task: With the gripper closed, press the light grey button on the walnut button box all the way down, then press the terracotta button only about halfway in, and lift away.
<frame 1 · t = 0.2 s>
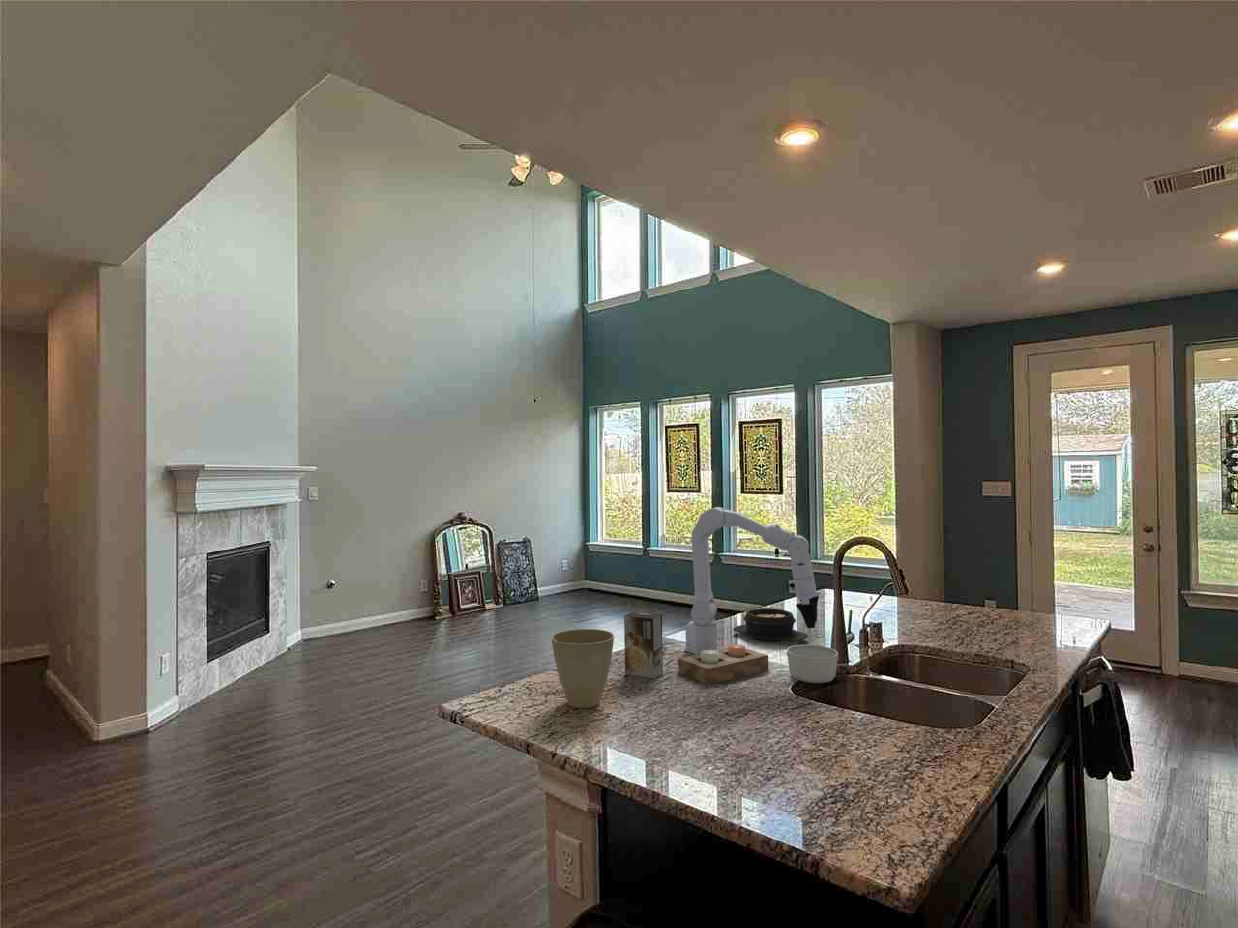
hand: (812, 624, 187), 10 cm above the worktop, tool pointing down, fingers open, 7 cm apart
casserole: (769, 638, 214), on the worktop
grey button: (709, 658, 176), point 4 cm above the worktop, slide at 0.0 cm
ramekin: (812, 677, 173), on the worktop
button box: (723, 671, 178), on the worktop
terracotta button: (736, 652, 181), point 4 cm above the worktop, slide at 0.0 cm
plant pot: (583, 703, 155), on the worktop
coffee box: (643, 674, 177), on the worktop
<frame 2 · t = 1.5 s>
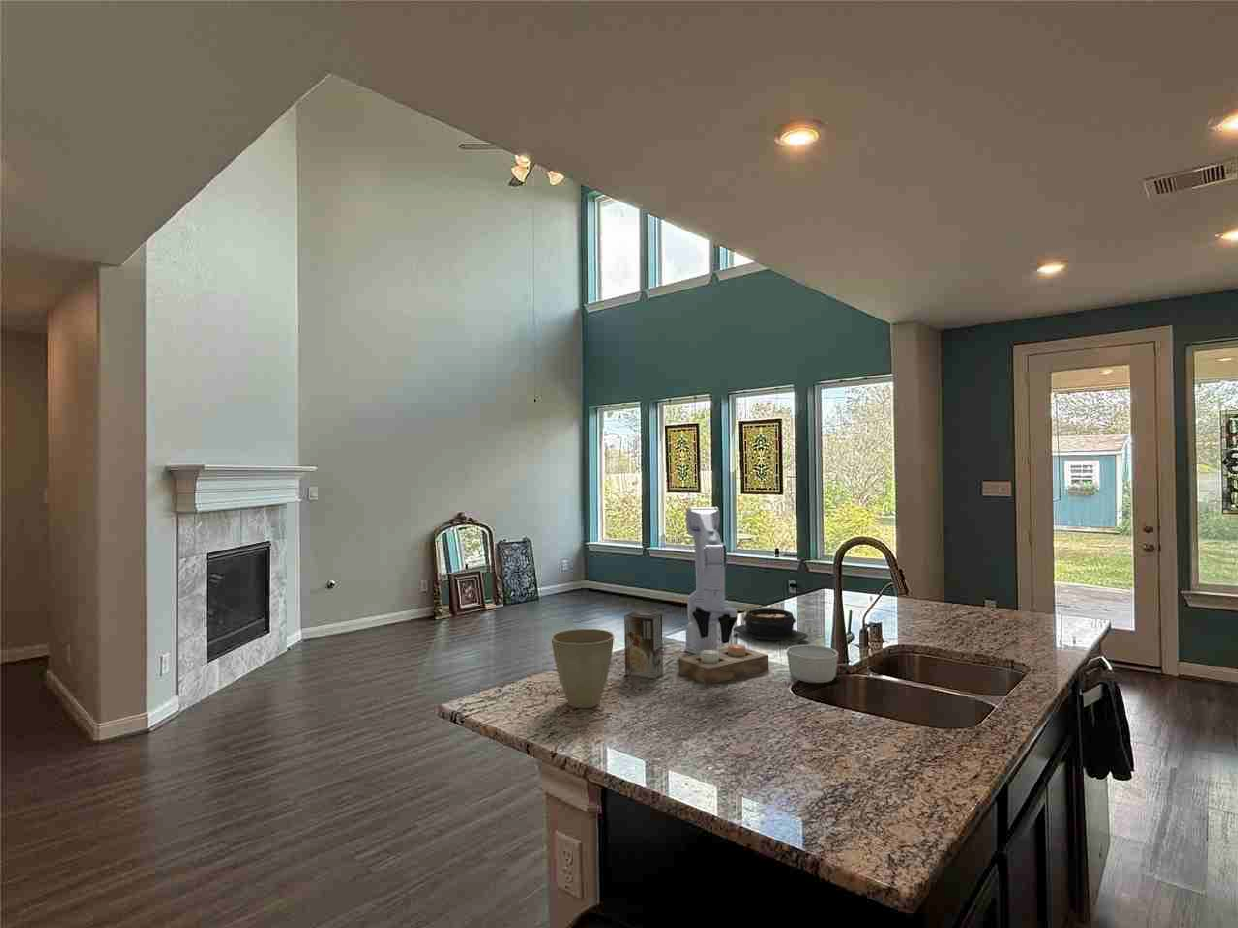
hand: (714, 639, 175), 9 cm above the worktop, tool pointing down, fingers open, 7 cm apart
nothing on the worktop moved.
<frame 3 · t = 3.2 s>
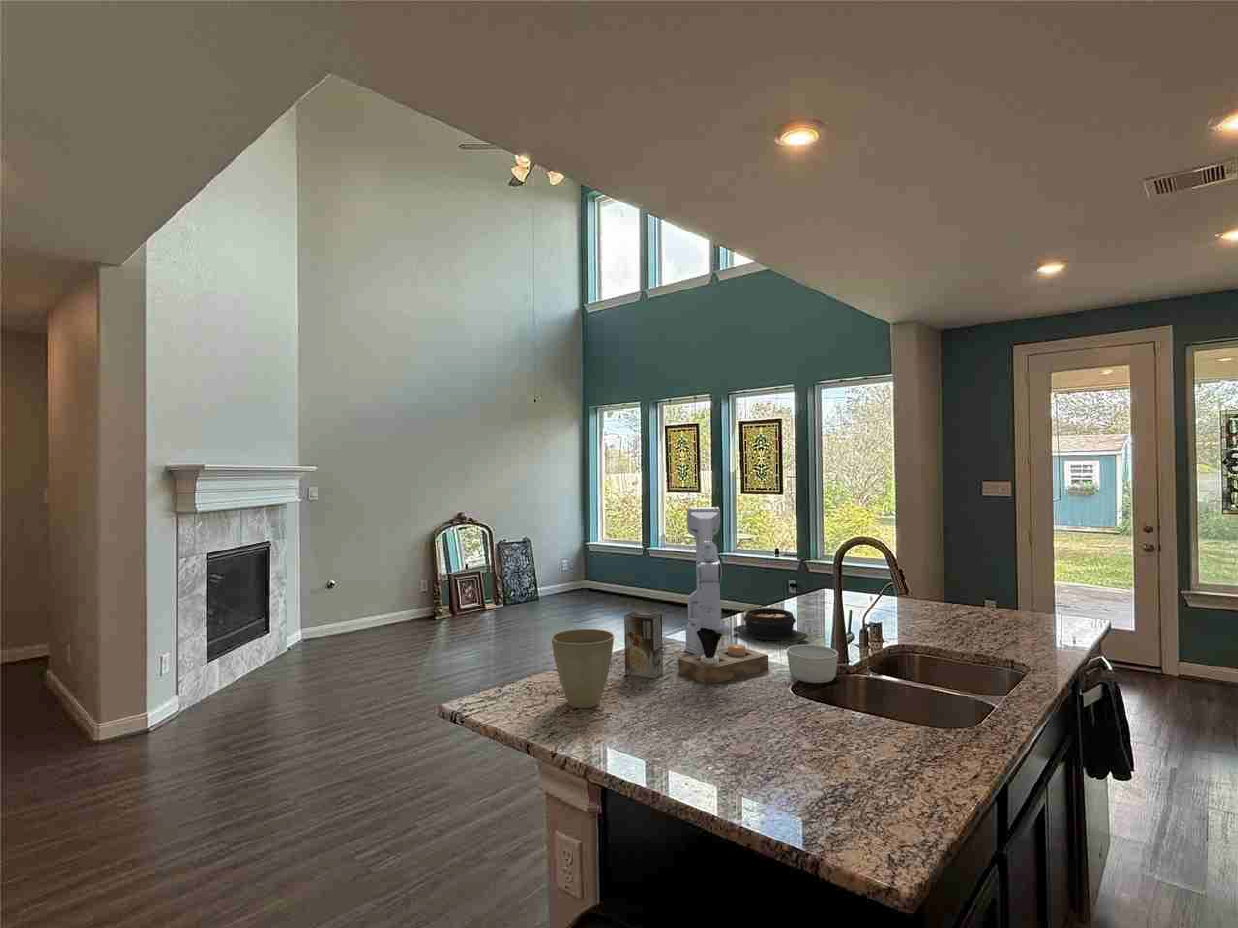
hand: (709, 657, 176), 5 cm above the worktop, tool pointing down, fingers closed, pressing on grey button
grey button: (709, 663, 176), point 3 cm above the worktop, slide at 1.3 cm, touching gripper
everything else where it was.
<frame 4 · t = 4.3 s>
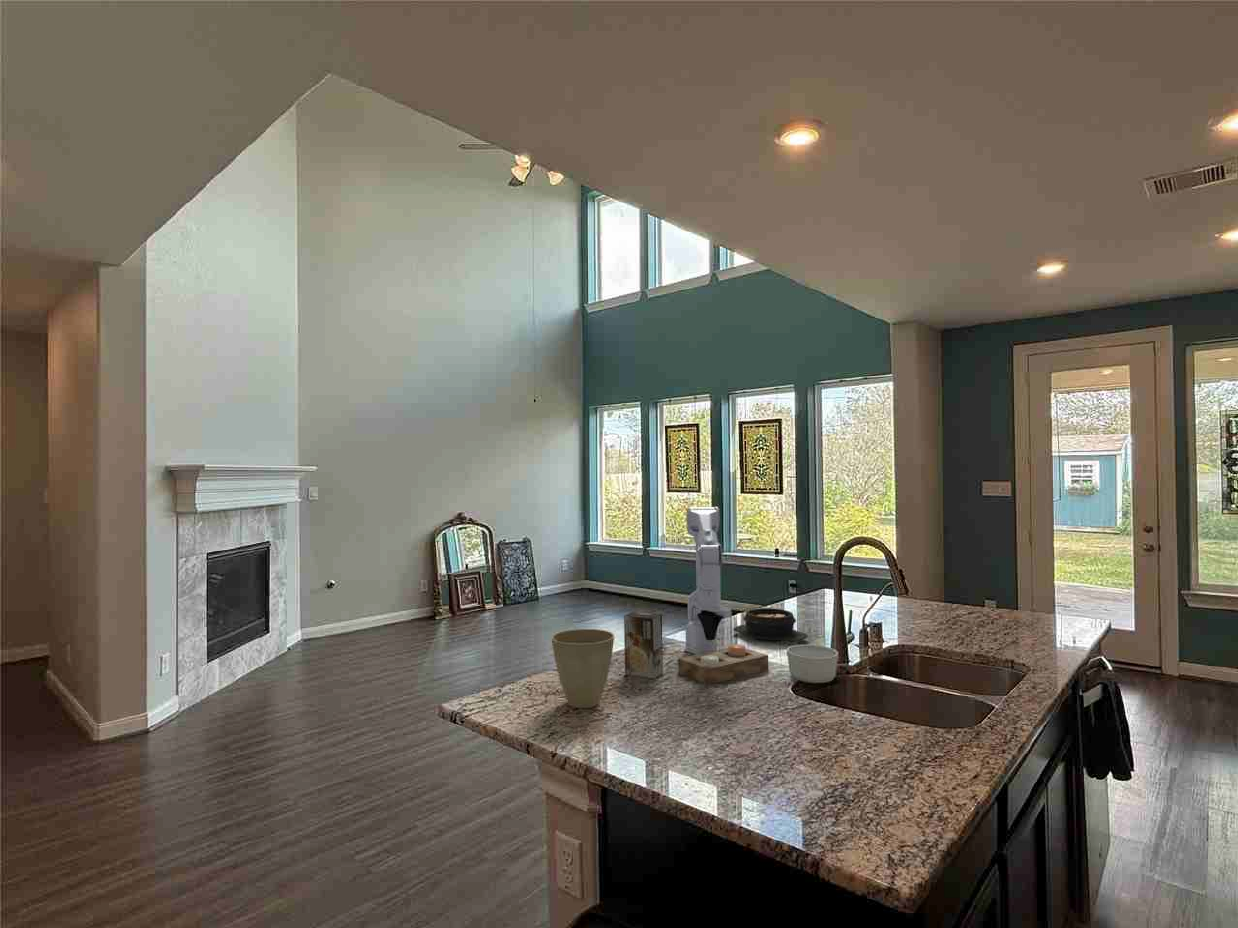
hand: (710, 639, 176), 9 cm above the worktop, tool pointing down, fingers closed
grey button: (709, 664, 176), point 3 cm above the worktop, slide at 1.5 cm, touching button box
everything else where it was.
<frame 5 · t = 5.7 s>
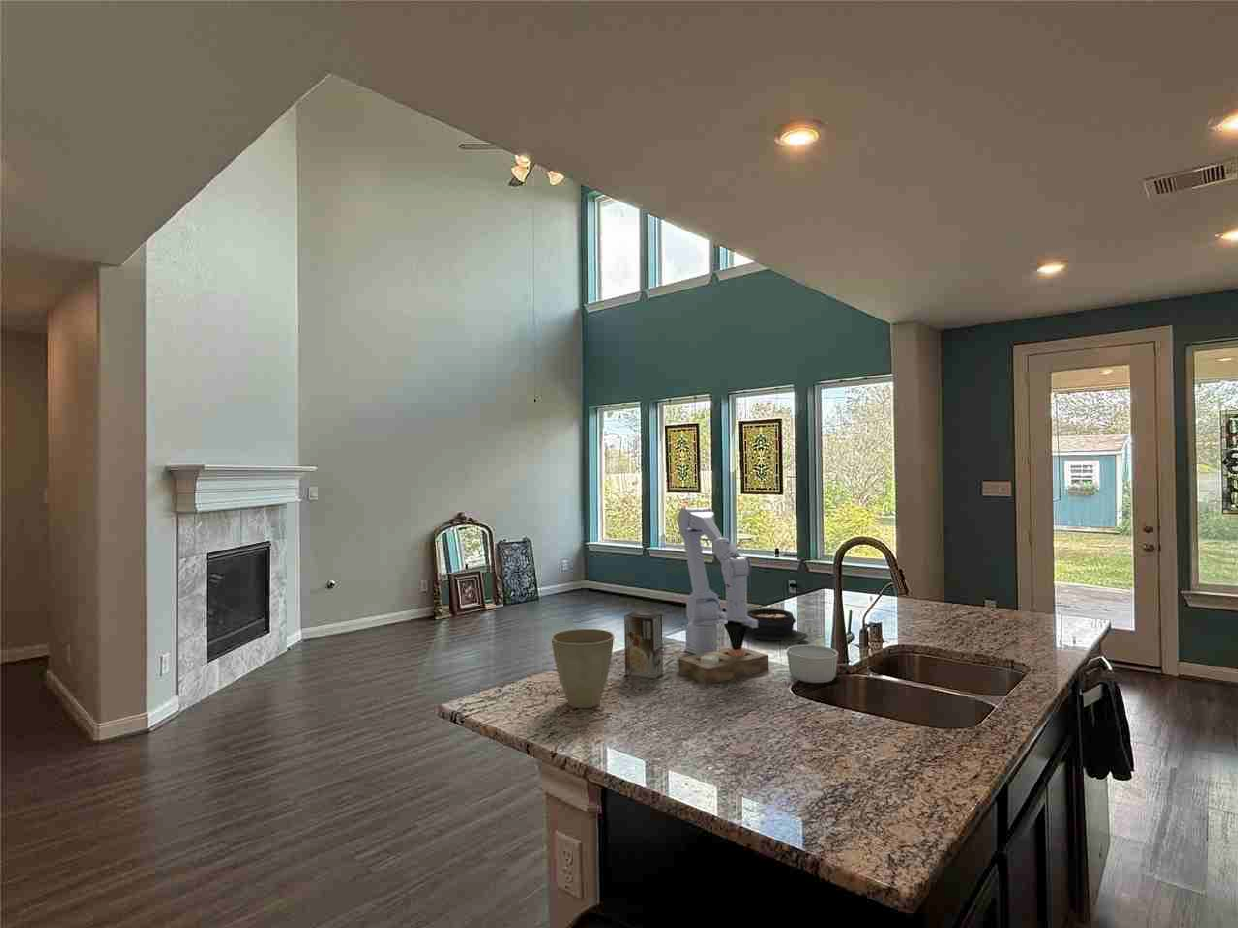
hand: (736, 648, 181), 5 cm above the worktop, tool pointing down, fingers closed, pressing on terracotta button
terracotta button: (736, 655, 181), point 4 cm above the worktop, slide at 0.6 cm, touching gripper
everything else where it was.
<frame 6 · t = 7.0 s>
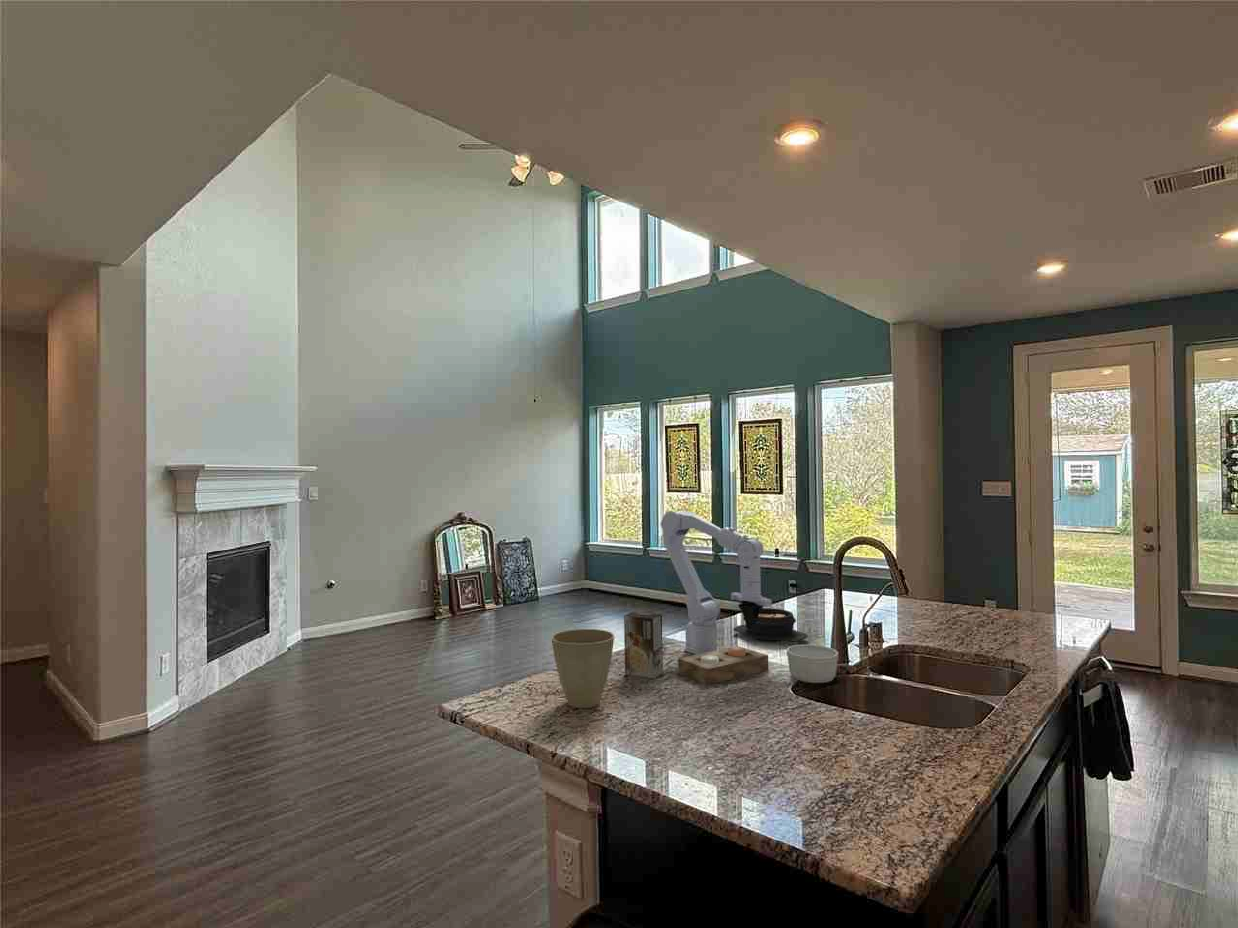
hand: (750, 628, 188), 9 cm above the worktop, tool pointing down, fingers closed
terracotta button: (736, 655, 181), point 4 cm above the worktop, slide at 0.6 cm
everything else where it was.
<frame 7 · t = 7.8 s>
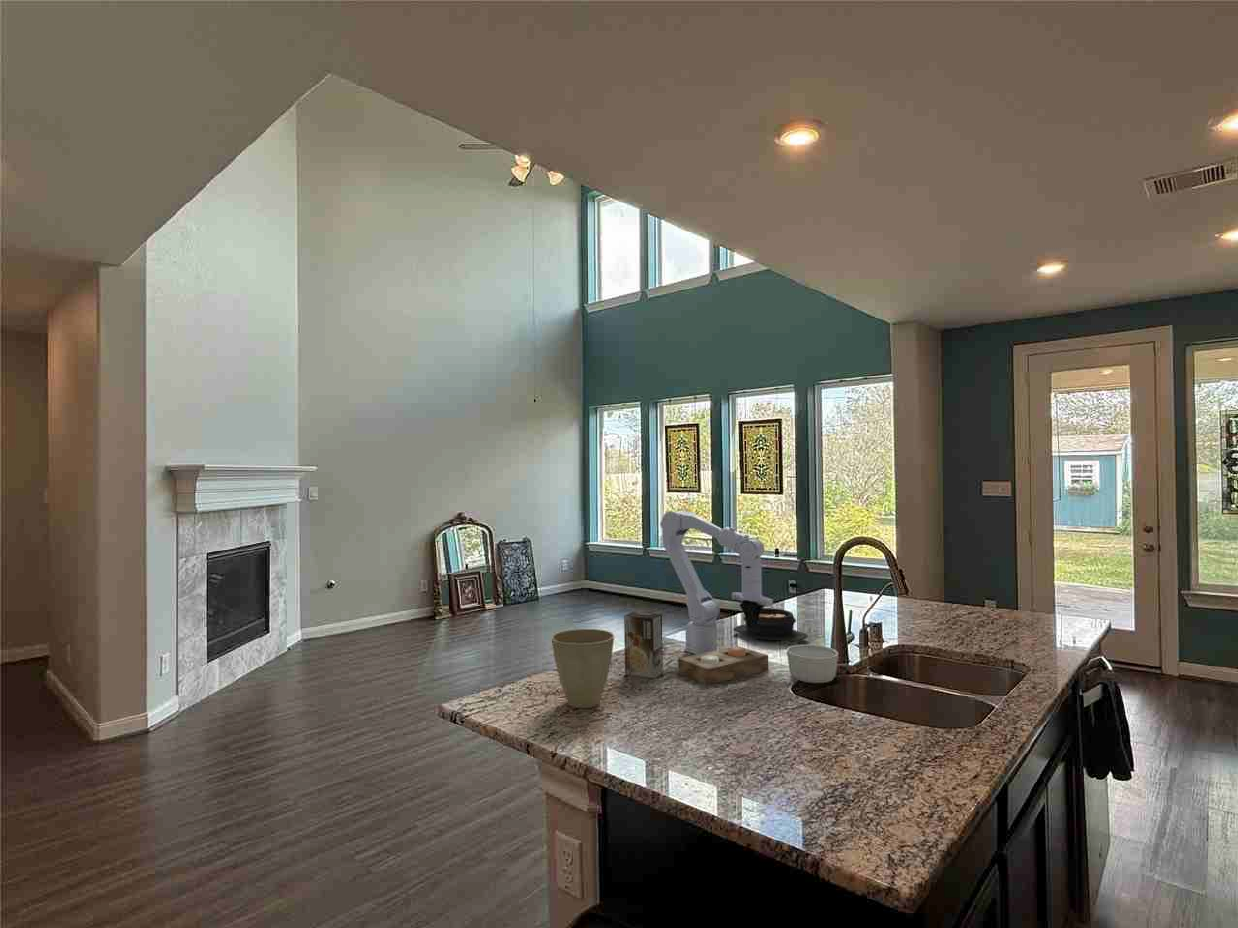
hand: (752, 627, 189), 9 cm above the worktop, tool pointing down, fingers closed
nothing on the worktop moved.
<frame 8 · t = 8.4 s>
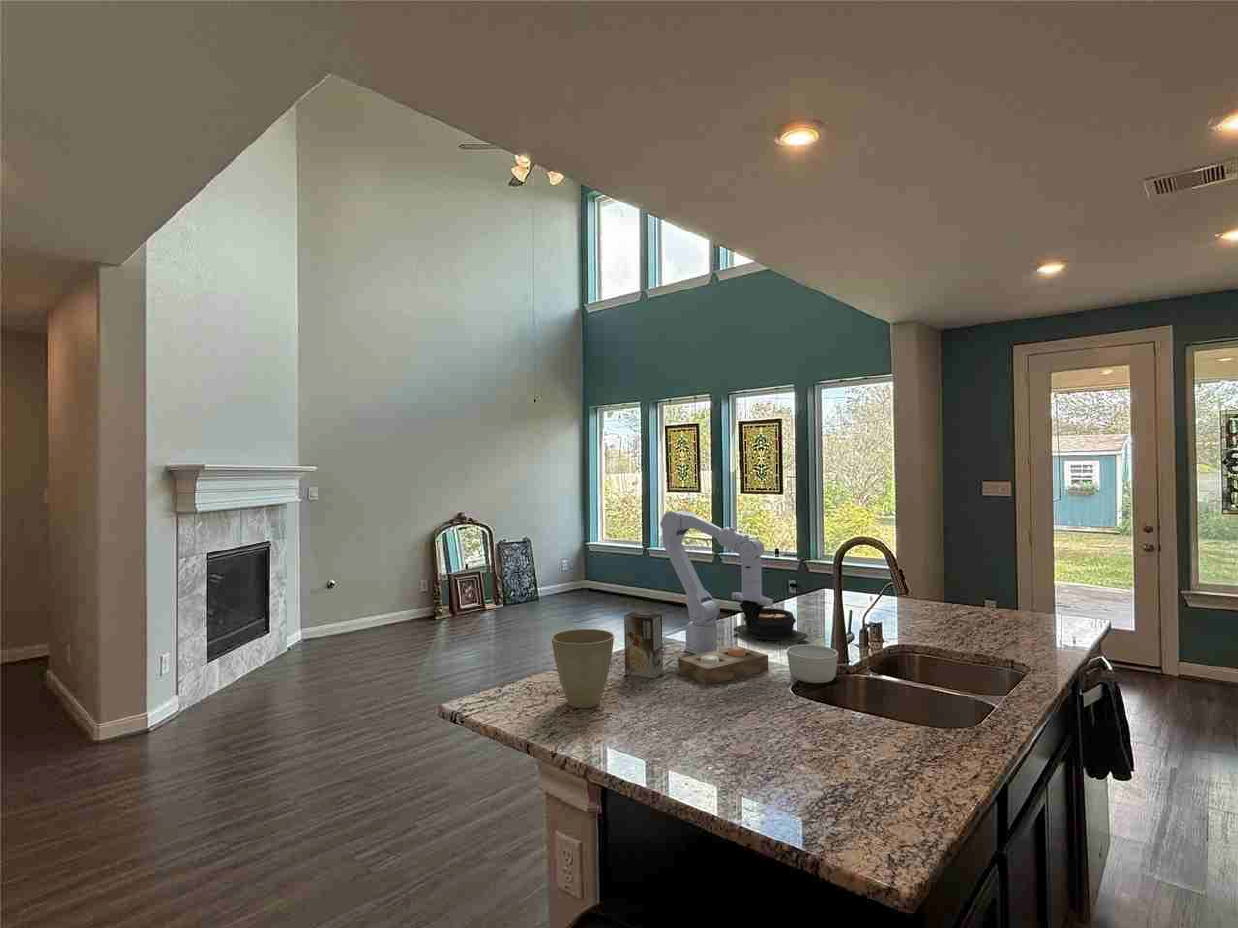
hand: (752, 627, 189), 9 cm above the worktop, tool pointing down, fingers closed
nothing on the worktop moved.
at the end: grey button slide at 1.5 cm; terracotta button slide at 0.6 cm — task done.
